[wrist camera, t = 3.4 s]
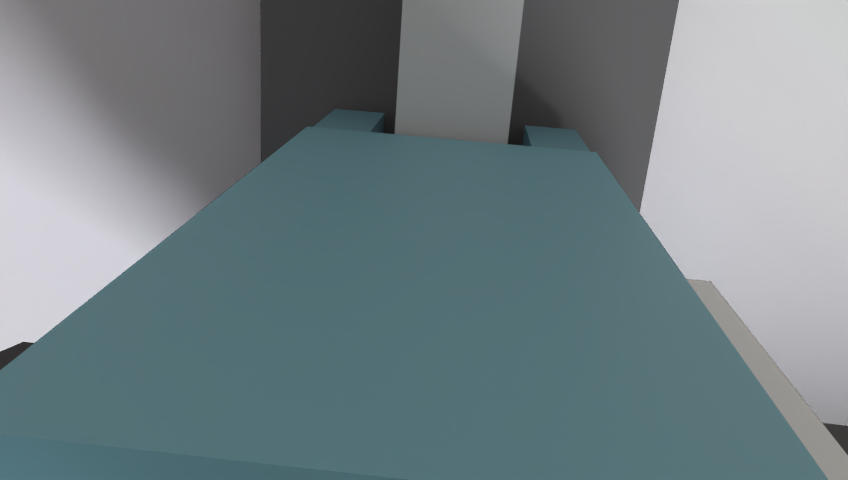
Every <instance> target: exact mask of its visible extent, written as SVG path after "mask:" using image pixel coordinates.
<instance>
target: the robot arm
mask: <svg viewBox="0 0 848 480" xmlns="http://www.w3.org/2000/svg"><path fill="white" fill-rule="evenodd" d="M687 281H688V282H689V284H690V285H691V286H692V288H693V289H694V291H695V292H696V294H697V295H698V296H699V298H700V299H701V301H702V302H703V303H704V305H705V306H706V308H707V309H708V310H709V312H710V313H711V315H712V316H713V318H714V319H715V320H716V322H717V323H718V325H719V326H720V327H721V329H722V330H723V332H724V333H725V334H726V336H727V337H728V339H729V340H730V342H731V343H732V344H733V346H734V347H735V349H736V350H737V351H738V353H739V354H740V356H741V357H742V358H743V360H744V361H745V363H746V364H747V365H748V367H749V368H750V370H751V371H752V373H753V374H754V375H755V377H756V378H757V380H758V381H759V382H760V384H761V385H762V387H763V388H764V389H765V391H766V392H767V394H768V395H769V397H770V398H771V399H772V401H773V402H774V404H775V405H776V406H777V408H778V409H779V411H780V412H781V413H782V415H783V416H784V418H785V419H786V421H787V422H788V423H789V425H790V426H791V428H792V429H793V430H794V432H795V433H796V435H797V436H798V437H799V439H800V440H801V442H802V443H803V445H804V446H805V447H806V449H807V450H808V452H809V453H810V454H811V456H812V457H813V459H814V460H815V461H816V463H817V464H818V466H819V467H820V469H821V470H822V471H823V473H824V474H825V476H826V477H827V478H828V480H848V426H843V425H834V424H824V423H822V422H821V421H820V419H819V418H818V417H817V416H816V414H815V413H814V412H813V411H812V409H811V408H810V407H809V405H808V404H807V403H806V402H805V400H804V399H803V398H802V397H801V395H800V394H799V393H798V391H797V390H796V389H795V388H794V386H793V385H792V384H791V383H790V381H789V380H788V379H787V377H786V376H785V375H784V374H783V372H782V371H781V370H780V369H779V367H778V366H777V365H776V363H775V362H774V361H773V360H772V358H771V357H770V356H769V355H768V353H767V352H766V351H765V350H764V348H763V347H762V346H761V344H760V343H759V342H758V341H757V339H756V338H755V337H754V336H753V334H752V333H751V332H750V330H749V329H748V328H747V327H746V325H745V324H744V323H743V322H742V320H741V319H740V318H739V316H738V315H737V314H736V313H735V311H734V310H733V309H732V308H731V306H730V305H729V304H728V302H727V301H726V300H725V299H724V297H723V296H722V295H721V294H720V292H719V291H718V290H717V288H716V287H715V286H714V285H713V283H712V282H711V281H701V280H691V279H687ZM33 344H34V343H29V342H22V343H20V344H17V345H15V346H13V347H10V348H8V349H6V350H3V351H1V352H0V370H1V369H2V368H4V367H5V366H6V365H7V364H9V363H10V362H11V361H13V360H14V359H15V358H16V357H18V356H19V355H20V354H21V353H23V352H24V351H25V350H26V349H28V348H29V347H30V346H31V345H33Z"/></svg>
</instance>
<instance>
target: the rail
mask: <svg viewBox="0 0 848 480" xmlns="http://www.w3.org/2000/svg"><path fill="white" fill-rule="evenodd" d="M678 2H679V0H261V163H262V162H263V161H264V160H266V159H267V158H268V157H269V156H271V155H272V154H273V153H274V152H276V151H277V150H278V149H279V148H281V147H282V146H283V145H285V144H286V143H287V142H288V141H290V140H291V139H292V138H293V137H295V136H296V135H297V134H298V133H300V132H301V131H302V130H303V129H305V128H306V127H307V126H308V127H313V126H315V125H316V124H317V123H318V122H320V121H321V120H322V119H323V118H324V117H326V116H327V115H328V114H329V113H330V112H332V111H333V110H334V109H344V110H356V111H367V112H379V113H385V115H384V133H386V134H398V135H409V136H420V137H431V138H443V139H454V140H465V141H476V142H488V143H499V144H510V145H521V146H522V145H523V137H524V129H525V125H527V126H538V127H550V128H561V129H573V130H576V131H577V132H578V134H579V135H580V137H581V138H582V140H583V141H584V143H585V144H586V146H587V147H588V149H589V150H590V152H597V154H598V155H599V157H600V158H601V159H602V161H603V162H604V164H605V165H606V167H607V168H608V169H609V171H610V172H611V174H612V175H613V176H614V178H615V179H616V181H617V182H618V183H619V185H620V186H621V188H622V189H623V191H624V192H625V193H626V195H627V196H628V198H629V199H630V200H631V202H632V203H633V205H634V206H635V207H636V209H637V210H638V212H640V207H641V201H642V196H643V191H644V185H645V180H646V175H647V169H648V164H649V158H650V153H651V148H652V142H653V137H654V132H655V126H656V121H657V115H658V110H659V105H660V99H661V94H662V88H663V83H664V78H665V72H666V67H667V62H668V56H669V51H670V45H671V40H672V35H673V29H674V24H675V18H676V13H677V8H678Z"/></svg>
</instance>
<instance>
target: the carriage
mask: <svg viewBox="0 0 848 480" xmlns="http://www.w3.org/2000/svg"><path fill="white" fill-rule="evenodd" d="M384 115H385V113H379V112H367V111H356V110H344V109H334V110H333V111H332V112H330V113H329V114H328V115H327V116H326V117H324V118H323V119H322V120H321V121H320V122H318V123H317V124H316V125H315V126H313V127H308V126H307V127H306V128H305V129H303V130H302V131H301V132H300V133H298V134H297V135H296V136H295V137H293V138H292V139H291V140H290V141H288V142H287V143H286V144H285V145H283V146H282V147H281V148H279V149H278V150H277V151H276V152H274V153H273V154H272V155H271V156H269V157H268V158H267V159H266V160H264V161H263V162H262V163H261V164H259V165H258V166H257V167H256V168H254V169H253V170H252V171H251V172H249V173H248V174H247V175H245V176H244V177H243V178H242V179H240V180H239V181H238V182H237V183H235V184H234V185H233V186H232V187H230V188H229V189H228V190H227V191H225V192H224V193H223V194H222V195H220V196H219V197H218V198H217V199H215V200H214V201H213V202H211V203H210V204H209V205H208V206H206V207H205V208H204V209H203V210H201V211H200V212H199V213H198V214H196V215H195V216H194V217H193V218H191V219H190V220H189V221H188V222H186V223H185V224H184V225H183V226H181V227H180V228H179V229H177V230H176V231H175V232H174V233H172V234H171V235H170V236H169V237H167V238H166V239H165V240H164V241H162V242H161V243H160V244H159V245H157V246H156V247H155V248H154V249H152V250H151V251H150V252H149V253H147V254H146V255H145V256H143V257H142V258H141V259H140V260H138V261H137V262H136V263H135V264H133V265H132V266H131V267H130V268H128V269H127V270H126V271H125V272H123V273H122V274H121V275H120V276H118V277H117V278H116V279H115V280H113V281H112V282H111V283H109V284H108V285H107V286H106V287H104V288H103V289H102V290H101V291H99V292H98V293H97V294H96V295H94V296H93V297H92V298H91V299H89V300H88V301H87V302H86V303H84V304H83V305H82V306H81V307H79V308H78V309H77V310H75V311H74V312H73V313H72V314H70V315H69V316H68V317H67V318H65V319H64V320H63V321H62V322H60V323H59V324H58V325H57V326H55V327H54V328H53V329H52V330H50V331H49V332H48V333H47V334H45V335H44V336H43V337H41V338H40V339H39V340H38V341H36V342H35V343H34V344H33V345H31V346H30V347H29V348H28V349H26V350H25V351H24V352H23V353H21V354H20V355H19V356H18V357H16V358H15V359H14V360H13V361H11V362H10V363H9V364H7V365H6V366H5V367H4V368H2V369H1V370H0V480H828V478H827V477H826V476H825V474H824V473H823V471H822V470H821V469H820V467H819V466H818V464H817V463H816V461H815V460H814V459H813V457H812V456H811V454H810V453H809V452H808V450H807V449H806V447H805V446H804V445H803V443H802V442H801V440H800V439H799V437H798V436H797V435H796V433H795V432H794V430H793V429H792V428H791V426H790V425H789V423H788V422H787V421H786V419H785V418H784V416H783V415H782V413H781V412H780V411H779V409H778V408H777V406H776V405H775V404H774V402H773V401H772V399H771V398H770V397H769V395H768V394H767V392H766V391H765V389H764V388H763V387H762V385H761V384H760V382H759V381H758V380H757V378H756V377H755V375H754V374H753V373H752V371H751V370H750V368H749V367H748V365H747V364H746V363H745V361H744V360H743V358H742V357H741V356H740V354H739V353H738V351H737V350H736V349H735V347H734V346H733V344H732V343H731V342H730V340H729V339H728V337H727V336H726V334H725V333H724V332H723V330H722V329H721V327H720V326H719V325H718V323H717V322H716V320H715V319H714V318H713V316H712V315H711V313H710V312H709V310H708V309H707V308H706V306H705V305H704V303H703V302H702V301H701V299H700V298H699V296H698V295H697V294H696V292H695V291H694V289H693V288H692V286H691V285H690V284H689V282H688V281H687V279H686V278H685V277H684V275H683V274H682V272H681V271H680V270H679V268H678V267H677V265H676V264H675V262H674V261H673V260H672V258H671V257H670V255H669V254H668V253H667V251H666V250H665V248H664V247H663V246H662V244H661V243H660V241H659V240H658V238H657V237H656V236H655V234H654V233H653V231H652V230H651V229H650V227H649V226H648V224H647V223H646V222H645V220H644V219H643V217H642V216H641V215H640V213H639V212H638V210H637V209H636V207H635V206H634V205H633V203H632V202H631V200H630V199H629V198H628V196H627V195H626V193H625V192H624V191H623V189H622V188H621V186H620V185H619V183H618V182H617V181H616V179H615V178H614V176H613V175H612V174H611V172H610V171H609V169H608V168H607V167H606V165H605V164H604V162H603V161H602V159H601V158H600V157H599V155H598V154H597V152H590V150H589V149H588V147H587V146H586V144H585V143H584V141H583V140H582V138H581V137H580V135H579V134H578V132H577V131H576V130H573V129H561V128H550V127H538V126H527V125H525V129H524V137H523V145H522V146H521V145H510V144H499V143H488V142H476V141H465V140H454V139H443V138H431V137H420V136H409V135H398V134H386V133H384Z"/></svg>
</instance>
